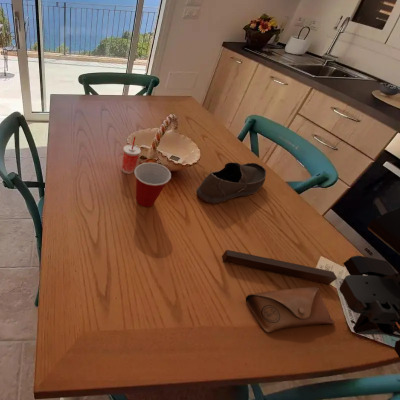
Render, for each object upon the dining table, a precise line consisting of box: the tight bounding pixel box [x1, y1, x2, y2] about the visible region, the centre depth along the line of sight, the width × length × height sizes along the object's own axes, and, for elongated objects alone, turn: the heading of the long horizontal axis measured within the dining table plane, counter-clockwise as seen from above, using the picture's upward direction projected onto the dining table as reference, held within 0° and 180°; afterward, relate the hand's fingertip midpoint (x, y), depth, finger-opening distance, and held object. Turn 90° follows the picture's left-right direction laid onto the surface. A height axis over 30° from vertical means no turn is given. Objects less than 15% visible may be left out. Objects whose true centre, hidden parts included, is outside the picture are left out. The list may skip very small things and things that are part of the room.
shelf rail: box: [221, 249, 338, 285], centre depth 70 cm, size 2×26×3 cm, turn 77°
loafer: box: [195, 161, 267, 204], centre depth 91 cm, size 11×30×11 cm, turn 121°
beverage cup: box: [121, 135, 142, 175], centre depth 96 cm, size 6×6×14 cm
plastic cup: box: [133, 161, 172, 208], centre depth 84 cm, size 11×11×12 cm
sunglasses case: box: [245, 286, 336, 334], centre depth 62 cm, size 18×7×7 cm, turn 99°
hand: (356, 331), depth 47 cm, fingers closed
